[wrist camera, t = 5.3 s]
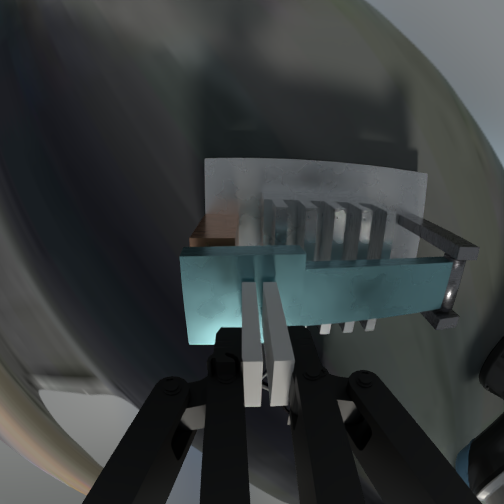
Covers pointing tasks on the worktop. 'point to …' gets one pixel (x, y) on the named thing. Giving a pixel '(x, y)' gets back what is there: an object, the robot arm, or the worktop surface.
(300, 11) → the worktop surface
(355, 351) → the worktop surface
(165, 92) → the worktop surface
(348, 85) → the worktop surface
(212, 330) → the lever
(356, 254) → the heatsink base
